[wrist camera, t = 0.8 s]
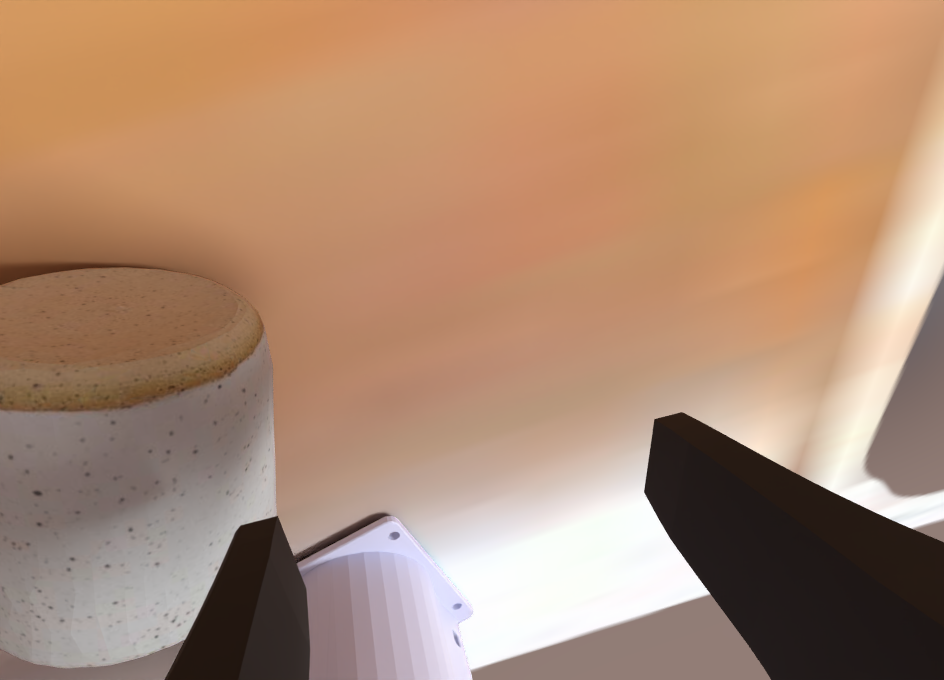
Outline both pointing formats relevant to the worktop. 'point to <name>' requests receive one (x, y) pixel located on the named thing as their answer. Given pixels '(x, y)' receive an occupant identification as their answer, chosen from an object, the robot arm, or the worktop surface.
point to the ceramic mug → (124, 457)
